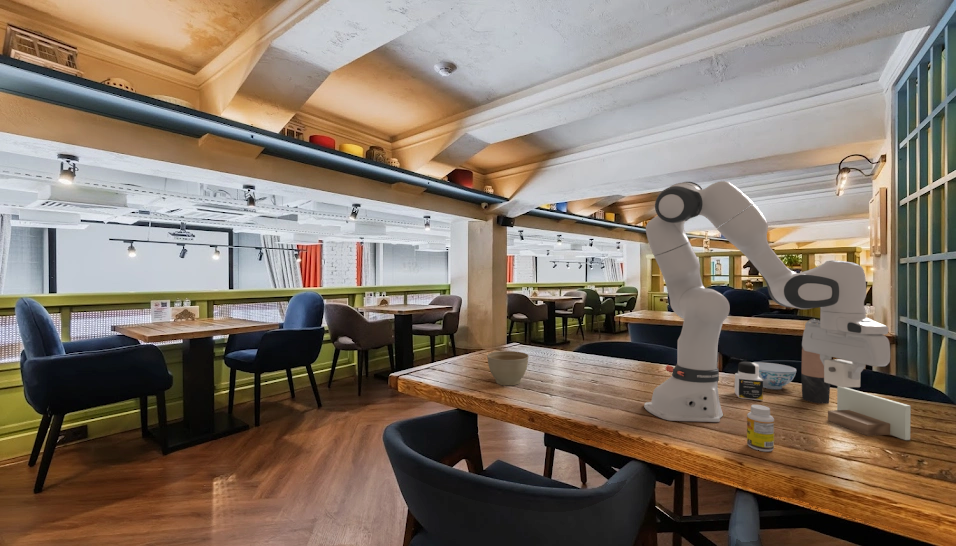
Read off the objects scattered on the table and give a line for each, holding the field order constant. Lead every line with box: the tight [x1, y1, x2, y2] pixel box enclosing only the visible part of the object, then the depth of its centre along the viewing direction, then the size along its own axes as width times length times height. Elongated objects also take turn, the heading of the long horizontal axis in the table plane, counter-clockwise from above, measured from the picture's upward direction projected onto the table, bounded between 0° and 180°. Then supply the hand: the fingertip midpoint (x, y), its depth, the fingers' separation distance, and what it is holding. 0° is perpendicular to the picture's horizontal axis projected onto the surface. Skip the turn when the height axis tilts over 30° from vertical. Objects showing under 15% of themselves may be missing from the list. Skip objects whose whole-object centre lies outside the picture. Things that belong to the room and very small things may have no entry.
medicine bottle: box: [734, 361, 764, 401], centre depth 143 cm, size 7×7×12 cm
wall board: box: [836, 386, 912, 441], centre depth 116 cm, size 2×18×9 cm, turn 7°
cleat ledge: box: [827, 409, 891, 437], centre depth 115 cm, size 7×11×3 cm, turn 7°
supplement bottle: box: [746, 404, 775, 452], centre depth 102 cm, size 6×6×10 cm
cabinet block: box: [824, 358, 862, 388], centre depth 106 cm, size 6×5×6 cm
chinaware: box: [753, 361, 797, 390], centre depth 155 cm, size 15×15×8 cm
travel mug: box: [801, 346, 831, 404], centre depth 139 cm, size 8×8×20 cm
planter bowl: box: [486, 350, 530, 387], centre depth 159 cm, size 16×16×11 cm
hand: (841, 375), depth 106 cm, fingers closed on cabinet block, 5 cm apart
